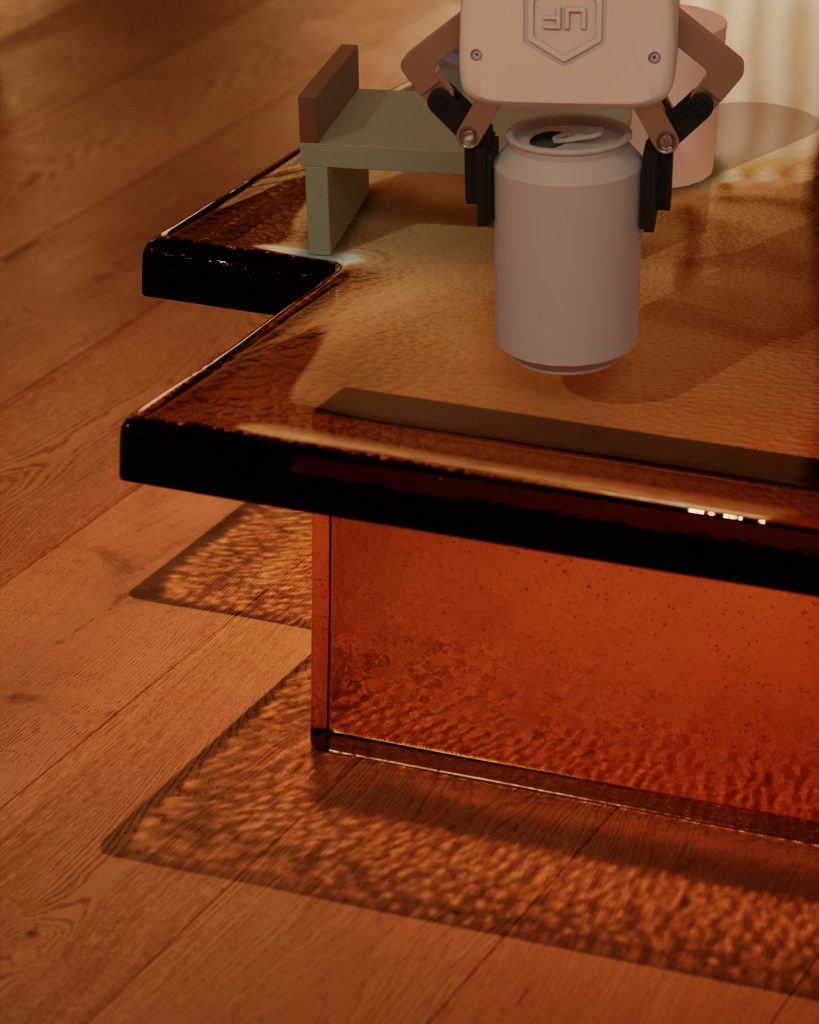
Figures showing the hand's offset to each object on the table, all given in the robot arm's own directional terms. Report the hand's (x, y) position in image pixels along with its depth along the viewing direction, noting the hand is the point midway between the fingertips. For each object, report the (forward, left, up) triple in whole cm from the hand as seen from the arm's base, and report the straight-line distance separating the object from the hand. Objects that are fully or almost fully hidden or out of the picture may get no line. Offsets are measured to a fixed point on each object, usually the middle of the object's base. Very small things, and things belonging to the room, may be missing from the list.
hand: (567, 218), depth 81 cm
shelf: (+9, -24, -11) cm, 28 cm away
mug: (-1, -38, -11) cm, 40 cm away
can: (0, 0, -8) cm, 8 cm away
